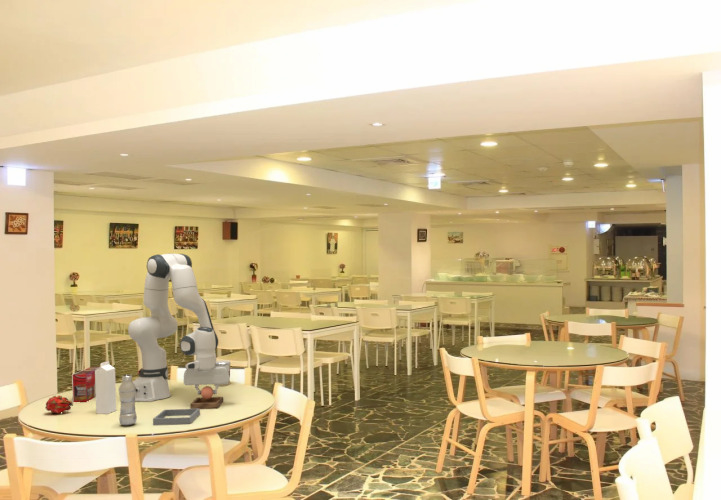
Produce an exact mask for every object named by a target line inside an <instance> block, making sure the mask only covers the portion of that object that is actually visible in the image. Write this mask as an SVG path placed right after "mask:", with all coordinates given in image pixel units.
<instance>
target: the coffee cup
mask: <svg viewBox="0 0 721 500" xmlns="http://www.w3.org/2000/svg"><path fill="white" fill-rule="evenodd" d="M216 363H226V364H228V365H229V367H230V368H231V361H230V360H216ZM229 376H230V377H231V370H230V371H229ZM230 383H231V380H230V381H229V382H228V383H227V384H219V387H227V386H230ZM213 385H214V386H215V384H213ZM219 387H218V388H219Z"/></svg>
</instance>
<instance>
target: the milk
mask: <svg viewBox="0 0 721 500" xmlns="http://www.w3.org/2000/svg"><path fill="white" fill-rule="evenodd" d="M99 364H100V366H98V367H99V368H98V369H96V370H95V390H96V397H95V414H96V413H98V414H99V415H108V414H112V413H115V412H116V411H117V391H116V390H117V389H116V385H117V384H116V368H115V367H114V366H112V365H111V364H110V360H108V361H104V362H101V363H99ZM111 412H112V413H111Z"/></svg>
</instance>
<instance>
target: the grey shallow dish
mask: <svg viewBox="0 0 721 500" xmlns="http://www.w3.org/2000/svg"><path fill="white" fill-rule="evenodd" d="M200 410H201V409H190V408H177V409H176V408H175V409H174V408H173V409H171V408H170V409H163V410H162V411H161V412H160V413H158V414H157V415H156V416H154V417H153V418H152V425H153V426H167V425H168V426H169V425H191V424H192V423H193V422H194V421H195V420H196V419H197V418H198V417H199V416H200V415H201V413H200V412H201V411H200ZM170 416H171V417H170ZM173 416H176V417H173ZM178 416H180V417H178ZM181 416H182V417H181ZM185 416H188V417H185Z"/></svg>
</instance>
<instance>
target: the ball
mask: <svg viewBox="0 0 721 500" xmlns="http://www.w3.org/2000/svg"><path fill="white" fill-rule="evenodd" d="M200 390H201V395H200V396H201V398H205V399H209V398H211V397H214V394H213V390H214V389H213V387H211V386H209V385H206V386H203V388H202V389H200Z"/></svg>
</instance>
